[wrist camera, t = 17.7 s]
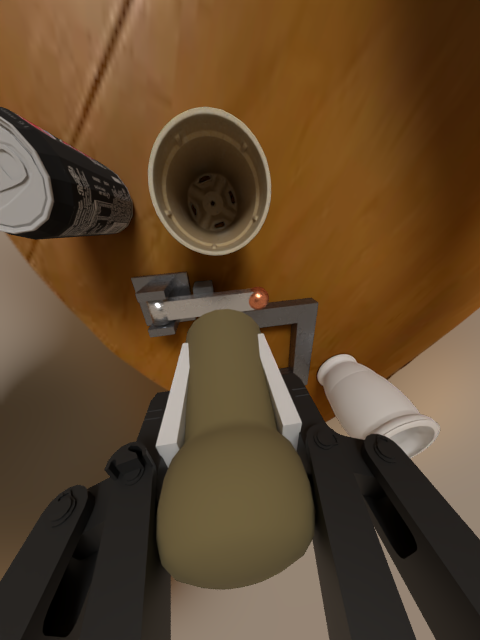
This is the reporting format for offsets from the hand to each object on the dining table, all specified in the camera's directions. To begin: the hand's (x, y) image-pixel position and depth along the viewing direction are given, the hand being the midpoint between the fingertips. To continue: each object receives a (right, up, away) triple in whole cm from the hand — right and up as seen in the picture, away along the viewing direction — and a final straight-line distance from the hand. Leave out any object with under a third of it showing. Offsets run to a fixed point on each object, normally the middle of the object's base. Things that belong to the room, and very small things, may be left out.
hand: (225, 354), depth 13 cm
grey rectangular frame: (+6, -2, +19) cm, 20 cm away
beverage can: (-14, +16, +7) cm, 22 cm away
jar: (+21, -8, +25) cm, 33 cm away
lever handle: (-3, +5, +11) cm, 13 cm away
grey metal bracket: (-9, +6, +13) cm, 17 cm away
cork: (0, +1, +2) cm, 2 cm away
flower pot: (-2, +16, +9) cm, 19 cm away
